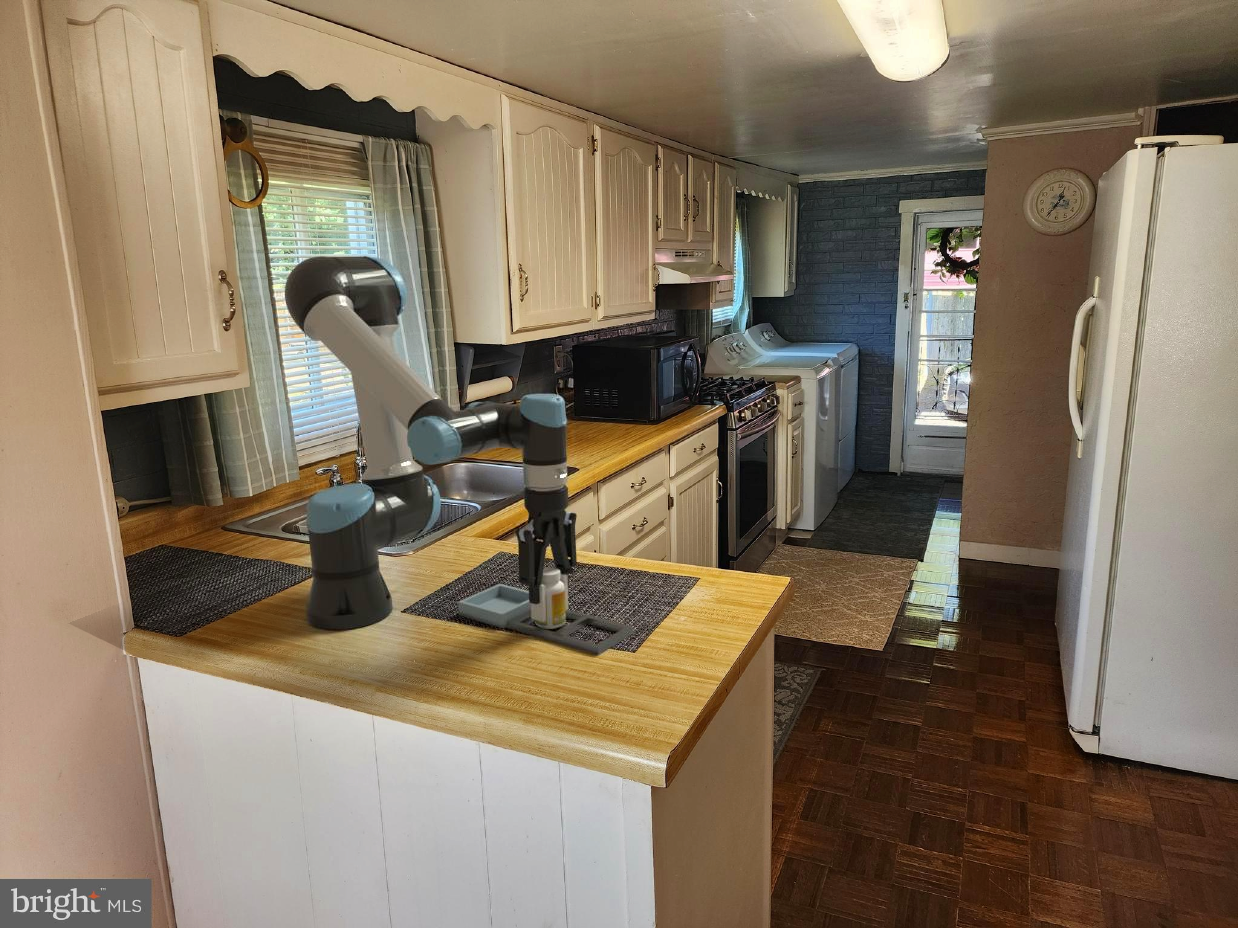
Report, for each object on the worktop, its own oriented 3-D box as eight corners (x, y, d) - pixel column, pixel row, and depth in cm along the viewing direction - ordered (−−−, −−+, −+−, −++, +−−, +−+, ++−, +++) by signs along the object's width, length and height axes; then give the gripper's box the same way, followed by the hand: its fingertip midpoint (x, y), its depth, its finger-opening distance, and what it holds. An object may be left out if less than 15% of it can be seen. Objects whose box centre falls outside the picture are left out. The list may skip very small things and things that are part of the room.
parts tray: (503, 628, 148) (502, 614, 148) (458, 615, 155) (458, 601, 154) (543, 607, 157) (543, 594, 156) (500, 596, 163) (499, 583, 163)
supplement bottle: (566, 616, 152) (564, 565, 150) (565, 629, 146) (563, 576, 144) (536, 617, 152) (534, 566, 149) (534, 629, 146) (532, 576, 144)
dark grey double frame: (598, 654, 137) (598, 647, 137) (507, 627, 148) (506, 621, 148) (633, 633, 145) (633, 626, 145) (544, 609, 156) (544, 603, 156)
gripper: (526, 500, 134) (531, 637, 139) (596, 477, 149) (598, 601, 154) (491, 494, 138) (498, 626, 143) (562, 472, 153) (566, 593, 158)
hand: (550, 613), depth 149 cm, fingers closed on supplement bottle, 5 cm apart
